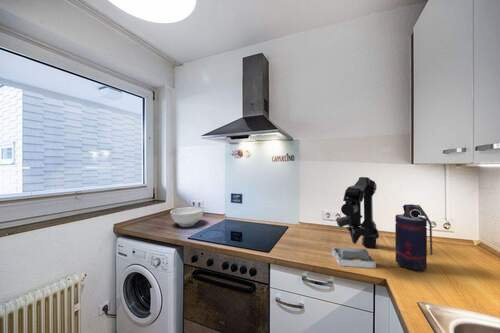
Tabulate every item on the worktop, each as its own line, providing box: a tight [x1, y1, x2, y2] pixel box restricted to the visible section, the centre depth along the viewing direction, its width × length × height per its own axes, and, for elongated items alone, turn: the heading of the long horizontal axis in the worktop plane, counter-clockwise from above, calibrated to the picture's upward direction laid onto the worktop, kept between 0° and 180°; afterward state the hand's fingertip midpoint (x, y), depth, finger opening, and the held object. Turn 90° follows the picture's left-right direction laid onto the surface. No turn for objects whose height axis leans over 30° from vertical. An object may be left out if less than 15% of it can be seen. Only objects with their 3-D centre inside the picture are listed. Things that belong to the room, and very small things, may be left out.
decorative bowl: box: [169, 206, 205, 228], centre depth 164 cm, size 27×27×12 cm
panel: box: [339, 247, 370, 261], centre depth 99 cm, size 12×4×6 cm, turn 81°
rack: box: [330, 247, 377, 269], centre depth 102 cm, size 16×15×4 cm
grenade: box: [394, 203, 433, 273], centre depth 95 cm, size 14×12×30 cm
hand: (354, 243), depth 99 cm, fingers closed
